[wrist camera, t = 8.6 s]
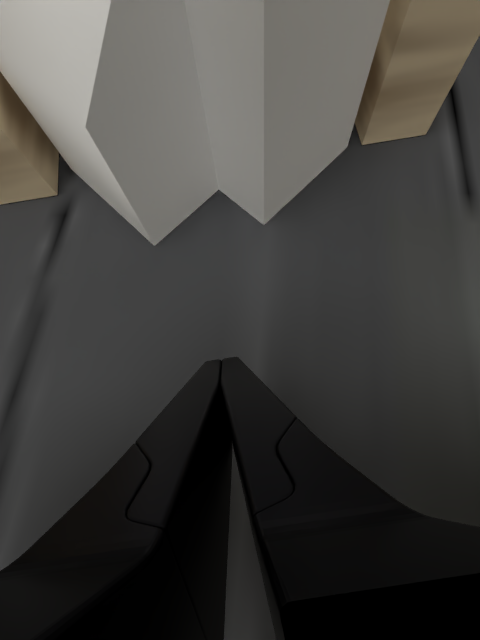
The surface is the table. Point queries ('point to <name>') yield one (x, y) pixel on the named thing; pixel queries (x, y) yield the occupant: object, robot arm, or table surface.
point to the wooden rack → (374, 110)
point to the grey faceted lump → (192, 95)
